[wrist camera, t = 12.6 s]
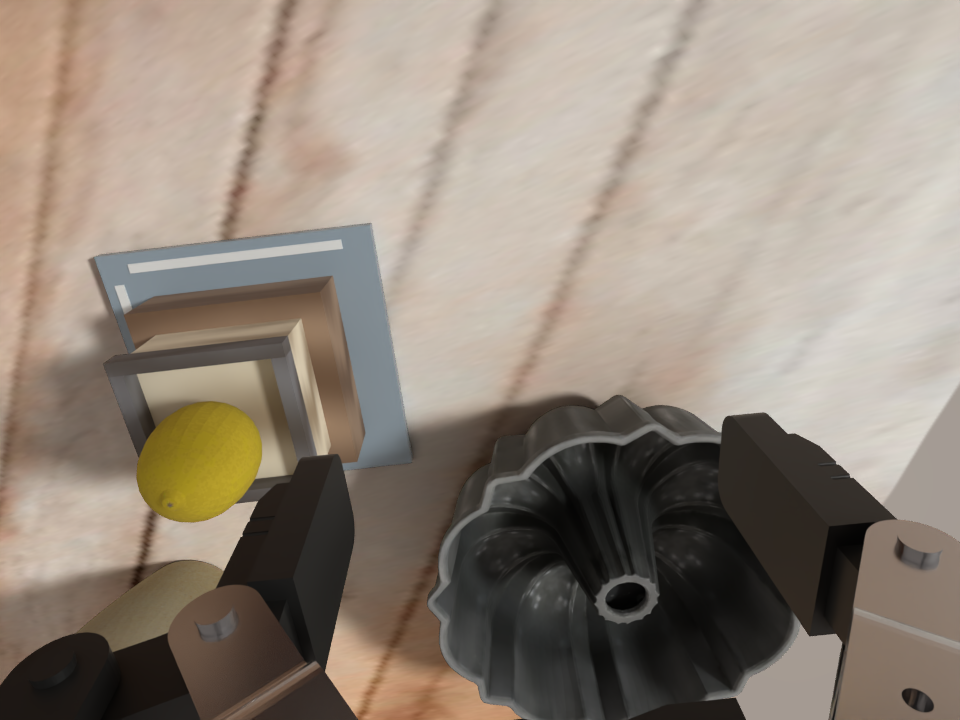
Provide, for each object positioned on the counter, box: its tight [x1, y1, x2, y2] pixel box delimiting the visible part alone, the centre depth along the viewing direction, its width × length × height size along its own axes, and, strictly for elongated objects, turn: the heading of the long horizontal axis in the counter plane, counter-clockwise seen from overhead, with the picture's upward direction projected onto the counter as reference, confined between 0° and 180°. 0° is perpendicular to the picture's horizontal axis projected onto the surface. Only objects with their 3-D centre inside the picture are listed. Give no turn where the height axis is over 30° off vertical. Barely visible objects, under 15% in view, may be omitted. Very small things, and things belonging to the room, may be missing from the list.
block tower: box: [103, 276, 366, 504], centre depth 38 cm, size 12×12×9 cm
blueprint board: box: [94, 223, 413, 471], centre depth 42 cm, size 18×18×1 cm
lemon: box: [136, 401, 262, 522], centre depth 31 cm, size 6×6×8 cm
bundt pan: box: [427, 395, 801, 720], centre depth 44 cm, size 26×26×10 cm
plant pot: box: [75, 560, 224, 652], centre depth 43 cm, size 15×15×16 cm
